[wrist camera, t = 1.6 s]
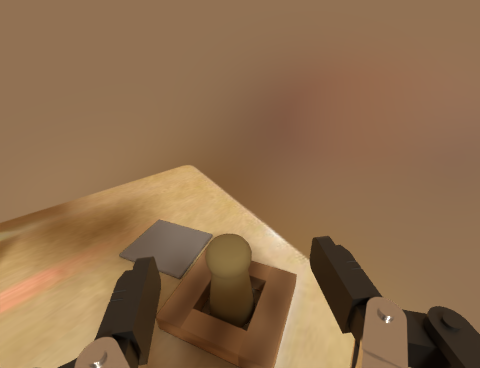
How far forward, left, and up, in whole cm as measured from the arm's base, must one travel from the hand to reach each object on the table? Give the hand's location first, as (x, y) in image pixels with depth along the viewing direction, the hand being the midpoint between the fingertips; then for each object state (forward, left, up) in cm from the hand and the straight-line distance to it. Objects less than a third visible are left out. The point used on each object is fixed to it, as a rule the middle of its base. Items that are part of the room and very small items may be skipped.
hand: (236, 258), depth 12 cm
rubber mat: (-21, +15, -20) cm, 33 cm away
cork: (-6, +9, -20) cm, 23 cm away
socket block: (-6, +9, -20) cm, 23 cm away
